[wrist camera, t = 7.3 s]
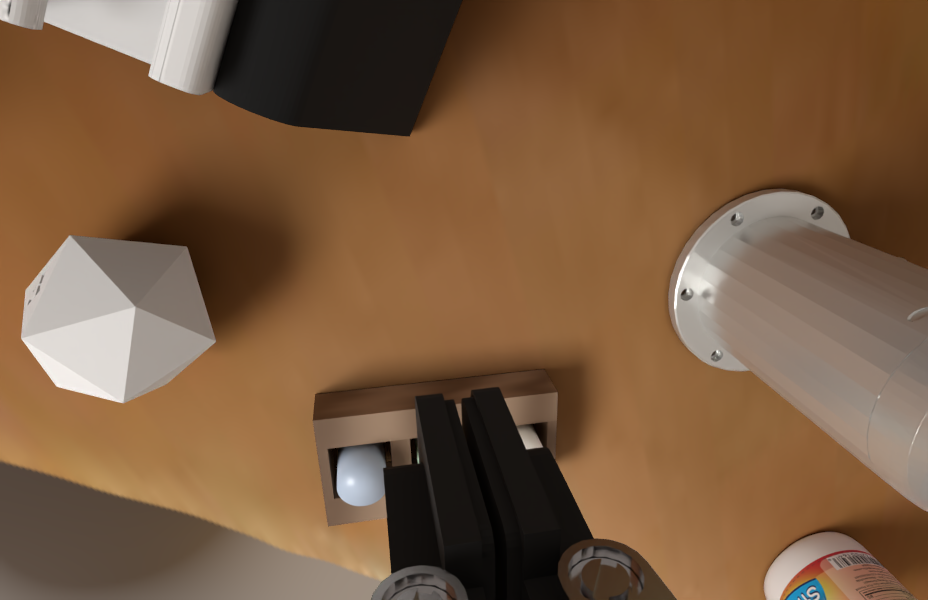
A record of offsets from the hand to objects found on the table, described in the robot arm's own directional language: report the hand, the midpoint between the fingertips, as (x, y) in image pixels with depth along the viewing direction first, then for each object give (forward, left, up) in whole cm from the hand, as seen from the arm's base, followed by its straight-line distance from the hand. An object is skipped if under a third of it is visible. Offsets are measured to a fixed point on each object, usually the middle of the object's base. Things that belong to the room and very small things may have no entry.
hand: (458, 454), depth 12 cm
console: (-2, +17, -25) cm, 30 cm away
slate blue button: (+3, +17, -24) cm, 30 cm away
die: (+14, +5, -25) cm, 29 cm away
